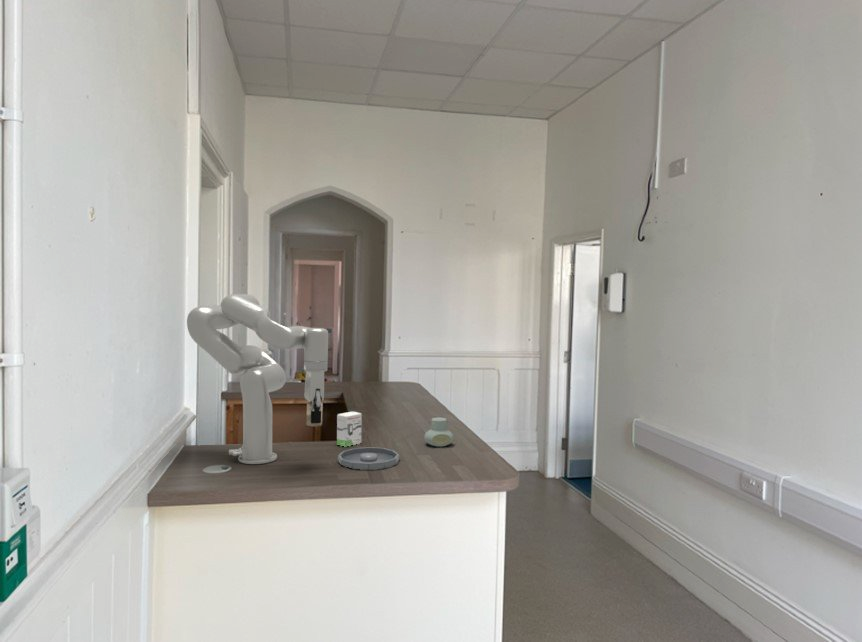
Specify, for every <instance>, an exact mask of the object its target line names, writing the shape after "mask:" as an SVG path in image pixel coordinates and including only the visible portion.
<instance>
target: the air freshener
mask: <svg viewBox="0 0 862 642" xmlns="http://www.w3.org/2000/svg"><path fill="white" fill-rule="evenodd" d="M430 421H431V425H430V426H431V427H430V429H428V431H426V432H425V433H424V436H423V437H424V440H425V442H426V443H427V444H428V445H430V446H432V447H436V448H443V447H446V446H448V445H450V444H451V443H452V442H453V440H454V434H453V433H452V432H451V431H450V429H448V420H447V418H446V417H440V416H439V417H432V418H431V420H430Z"/></svg>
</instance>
